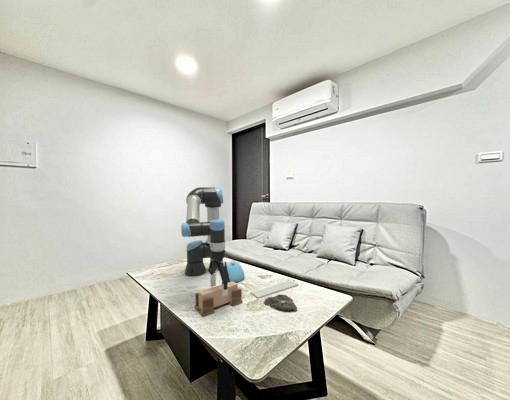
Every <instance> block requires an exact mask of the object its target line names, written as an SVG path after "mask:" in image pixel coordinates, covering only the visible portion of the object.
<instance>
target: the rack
mask: <svg viewBox="0 0 510 400" xmlns="http://www.w3.org/2000/svg"><path fill="white" fill-rule="evenodd" d="M242 297H243V296H242V288H238V290H235V291H232V301H231V302H228V303H227V304H229V305H230V306H232V307H234V306H237V305H240V304H243V301H244V300H243V298H242ZM202 305H203V311H202V310H201V309H200V308H199V295H198V292H196V293H195V305H194V309H195V310H196V311H197V312H198V314H200V315H201V317H202V318H203V317H204V318H205V317H206V316H210V315H211V314H215V313H216V312H215V309H214V308H215V307H214V308H213V298H209V299H205V300H202Z"/></svg>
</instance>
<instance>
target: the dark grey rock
mask: <svg viewBox="0 0 510 400" xmlns="http://www.w3.org/2000/svg"><path fill="white" fill-rule="evenodd" d="M263 304H264V305H265V306H269V307H270V308H271V309H274V310H276V311H281V312H283V313H292V312H298V307H297V305H296V304H295V302H294V299H292V298H291V297H289V296H288V295H287V294H277V295H275V296H268V297H266V298H265V299H264V301H263Z"/></svg>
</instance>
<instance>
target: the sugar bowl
mask: <svg viewBox="0 0 510 400" xmlns="http://www.w3.org/2000/svg"><path fill="white" fill-rule="evenodd" d="M242 267H243V266H241V264H239V263H237V262H235V261H231V262H230V263H227V270H228V274H229V279H230V282H232V281H233V282H235V283H238V282H241V281H242V280H244V278H245V271H244V269H243V268H242Z"/></svg>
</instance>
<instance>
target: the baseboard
mask: <svg viewBox="0 0 510 400" xmlns="http://www.w3.org/2000/svg"><path fill="white" fill-rule="evenodd" d="M297 286H299V283H298V282H296V281H295V280H294V279H293V280H287V281H283V282H280V283H277V284H274V285H271V286H267V287H263V288H261V289H257V290H254V291H251V292H249V294H250V295H252V296H253V297H254V298H256V299H257V300H259V299H261V298H265V297H267V296H268V297H269V296H270V295H274V294H277V293H281V292H283V291H286V290H290V289H292V287H293V288H295V287H297Z"/></svg>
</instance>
